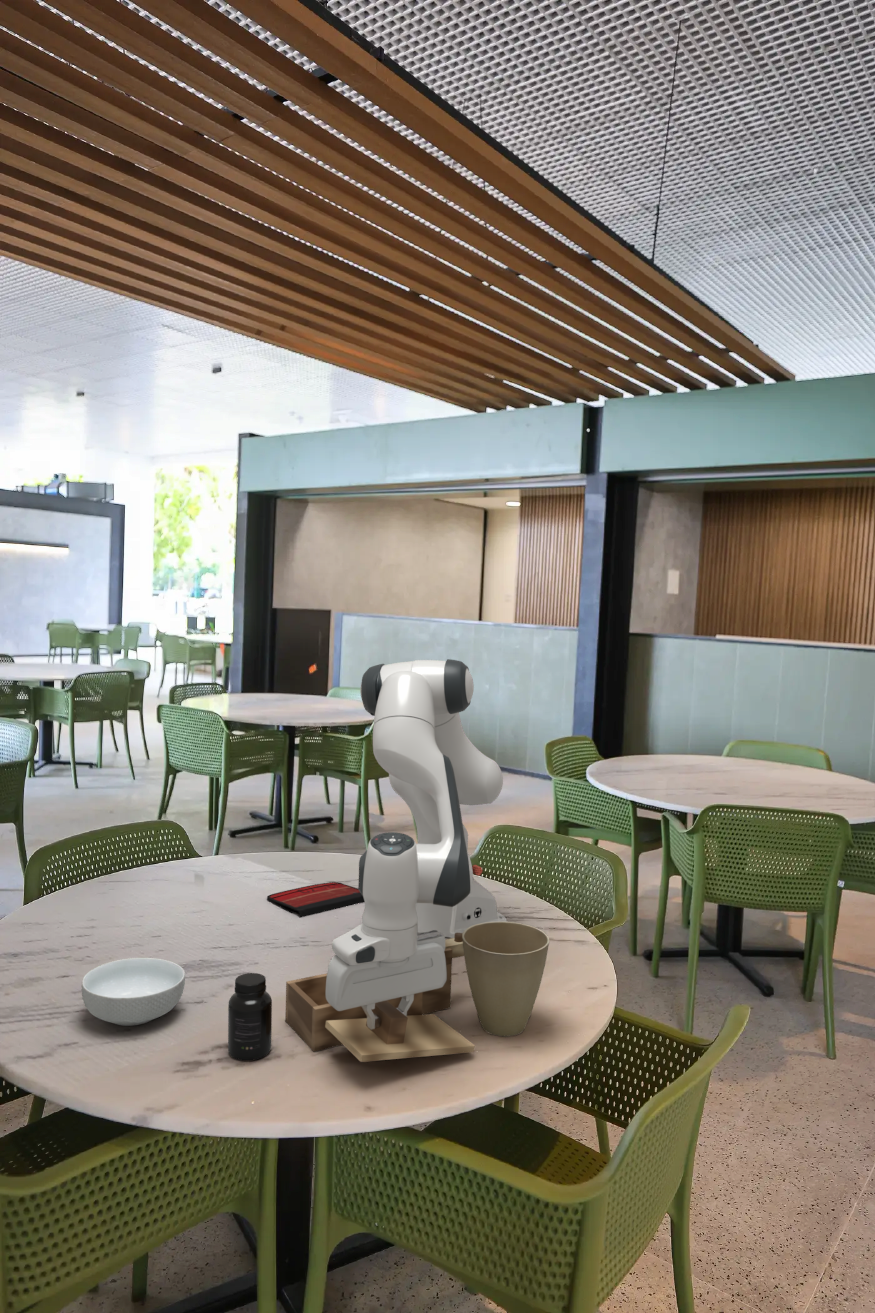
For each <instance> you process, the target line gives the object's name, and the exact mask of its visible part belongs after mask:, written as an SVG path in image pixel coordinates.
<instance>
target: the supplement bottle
mask: <svg viewBox="0 0 875 1313" xmlns="http://www.w3.org/2000/svg"><path fill="white" fill-rule="evenodd" d="M266 982H267V980H266V977H265V975H263V974H261V973H257V972H256V973H255V972H248V973H243V974H242V973H241V974H240V975H238V976H237V977H235V979H234V993H233V994H232V995H231V996H230V998H229V999H228V1009H227V1010H228V1011H227V1012H228V1013H227V1014H228V1016H227V1017H228V1018H227V1049H228V1054H229V1055H230V1057H231V1058H233V1059H236V1060H238V1061H244V1062H246V1061H247V1062H248V1061H249V1062H251V1061H257V1060H260V1059H262V1058H264V1057H266V1056H267V1055H268V1054H269V1053H270V1051H271V1049H272V1028H273V1026H272V1022H273V1020H272V1019H273V1018H272V1015H273V1013H272V1012H273V1005H272V1003H273V1000H272V997H271V995H270V993H269V992H267V985H266V984H267V983H266Z"/></svg>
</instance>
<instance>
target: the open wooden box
mask: <svg viewBox="0 0 875 1313" xmlns="http://www.w3.org/2000/svg"><path fill="white" fill-rule="evenodd" d="M444 953H445V960H446V972H447V980H446V982H445V984H444V986H443V987H442V988H438V989H434V990H429V991H425V992H421V993H416V994H414V1000H413V1002H412V1004H411V1006H410V1007H409V1009H408V1011H407V1016H411V1015H428V1014H432V1013H435V1012H438V1011H443V1010H447V1009H451V1000H452V976H453V975H452V974H453V973H452V972H453V958H452V949H451V948H448V949H445V951H444ZM326 979H327V972H326V973H321V974H317V975H312V976H307V977H302V978H297V979H292V980H287V981H286V982H285V985H286V986H285V1018H284V1020H285V1022H286V1024H287V1025H288V1026H289V1027H290V1028H291V1029H292V1030H293V1031H294V1032H295V1033H296V1034H297V1036H298V1037H299V1038H301V1040H302V1041H303V1042H304V1043H305V1044H306V1045H307V1046H308V1048H309V1049H310V1050H312V1052H314V1053H315V1052H319V1051H323V1050H327V1049H332V1048H335V1047H340V1046H344V1045H343V1044H342V1043H341V1042H340V1041H339V1040H338V1039H337V1038H336V1037H335V1036H334V1035H333V1034H332V1033H331V1032H330V1031H329V1030H328V1029H327V1028H326V1027H325V1024H326V1021H328V1020H345V1019H361V1018H367V1015H366V1014H365V1012H364V1010H363V1008H362V1007H361V1006H360V1007H355V1008H351V1009H347V1010H343V1011H337V1010H336V1009H334V1008H333V1007H332V1006H331V1005H330V1004H329V1003H328V1001H327V1000H326ZM401 999H402V997H399V998H395V999H390V1000H387V1001H388V1002H389V1003H390V1004H392V1005H393V1006H394V1007H395V1008H398V1006H399V1004H400V1002H401Z"/></svg>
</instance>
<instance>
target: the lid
mask: <svg viewBox="0 0 875 1313" xmlns="http://www.w3.org/2000/svg"><path fill="white" fill-rule="evenodd" d="M371 1010H372V1012H373V1014H374V1013H376V1014H377V1016H379V1017H380V1028H376V1029H372V1030H371V1029H370V1028H369V1027H368V1026H367V1018H361V1019H345V1020H328V1021H326V1024H325V1027H326V1028H327V1029H328V1030H329V1031H330V1032H331V1033H332V1034H333V1035H334V1036H335V1037H336V1038H337V1039H338V1040H339V1041H340V1042H341V1043H342V1044H343V1045H342V1046H344V1047H345V1048H346V1049H347V1050H348V1051H349V1052H350V1053H351V1055H353V1056H354V1057H355V1058H356V1059H357V1060H358V1061H359V1062H360V1063H367V1062H368V1063H369V1062H376V1061H385V1060H387V1061H388V1060H396V1059H397V1060H399V1059H409V1058H411V1059H412V1058H420V1057H421V1058H422V1057H431V1056H432V1057H433V1056H443V1055H444V1056H445V1055H456V1054H457V1055H458V1054H468V1053H474V1052H475V1047H476V1045H475V1044H473V1043H472V1042H471V1041H469V1039H467V1038H466V1037H464V1036H463V1035H462V1034H461V1033H459V1031H457V1030H455V1029H454V1028H452V1027H451V1026H450V1025H449V1024H447V1023H446V1022H445V1021H444V1020H442V1019H441V1018H440V1017H439V1016H437V1015H436V1014H432V1013H427V1014H423V1015H411V1016H407V1017H406V1016H405V1015H404V1014H403V1013H401V1012H400V1011H399V1010H398V1009H396V1008H395V1007H394V1006H393V1005H392V1004H390V1003H389V1002H388V1001H387V1000H386V1001H382V1002H377V1003H375V1009H371Z"/></svg>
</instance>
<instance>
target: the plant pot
mask: <svg viewBox="0 0 875 1313" xmlns="http://www.w3.org/2000/svg"><path fill="white" fill-rule="evenodd" d="M462 940H463V949H464V956H463V957H464V963H465V964H464V965H465V970H466V975H467V979H468V983H469V988H470V992H471V993H470V994H471V996H472V1000H473V1004H474V1007H475V1009H476V1013H477V1016H478V1019H479V1022H480V1024H481V1027H482V1029H483V1030H484V1031H485V1032H486V1033H488V1034H491V1035H494V1036H498V1037H513V1036H517V1035H519V1034H521V1033H522V1032H524V1030H525V1028H526V1026H527V1024H528V1022H529V1019H530V1016H531V1014H532V1012H533V1009H534V1005H535V1002H536V1000H537V997H538V994H539V990H540V987H541V982H542V979H543V977H544V976H543V975H544V972H545V968H546V967H545V966H546V962H547V957H548V952H549V945H550V937H549V935H547V933H545V931H543V930H542V929H539V928H537V927H535V926H532V925H529V924H526V923H520V922H516V921H515V922H514V921H507V922H486V923H480V924H476V925H473V926H471V927H469V928H467V929H466V930H465V931H464V932H463V934H462Z"/></svg>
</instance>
